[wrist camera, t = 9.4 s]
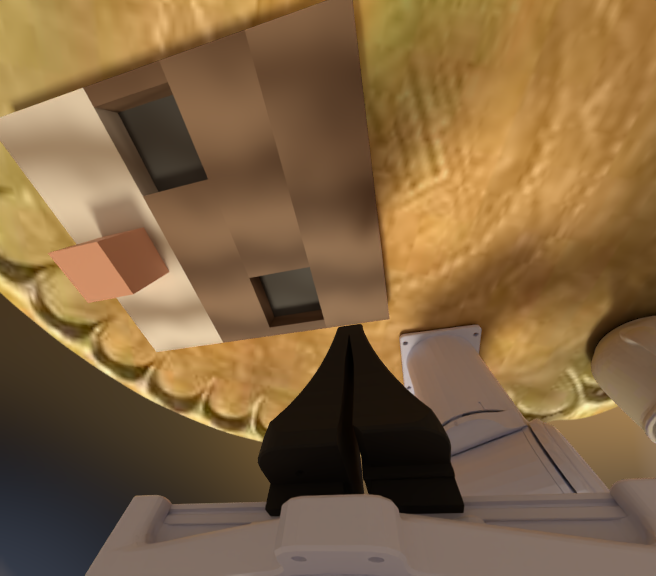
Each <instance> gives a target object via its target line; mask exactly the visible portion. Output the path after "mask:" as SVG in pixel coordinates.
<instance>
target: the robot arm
mask: <svg viewBox="0 0 656 576" xmlns="http://www.w3.org/2000/svg"><path fill="white" fill-rule="evenodd" d="M481 330H482V329H481V327H480V326H479V325H469V326H461V327H454V328H446V329H438V330H431V331H423V332H415V333H408V334H402V335H401V336H400V349H401V359H402V369H403V380H404V386H403V385H402V384H401V383H400V382H399V381H398V380H397V379H396V378H395V377H394V375H393V374H392V373H391V372H390V371H389V370H388V369H387V367H386V366H385V365H384V364H383V363H382V361H381V360H380V359H379V357H378V356H377V354H376V353H375V351H374V350H373V348H372V346H371V345H370V343H369V341H368V339H367V337H366V335H365V333H364V330H363V326H362V325H361V324H357V325H350V326H343V327H339V328H338V329H337V332H336V335H335V337H334V340H333V342H332V344H331V346H330V349H329V351H328V353H327V355H326V357H325V358H324V360H323V362H322V364H321V365H320V367H319V369H318V370H317V372H316V373H315V375H314V376H313V378H312V379H311V380H310V382H309V383H308V384H307V385H306V387H305V388H304V389H303V390H302V392H301V393H300V394H299V395H298V396H297V397H296V398H295V399H294V400H293V402H292V403H291V404H290V405H289V406H288V407H287V408H286V409H285V410H283V411H282V412H281V413H280V414H279V415H278V416H277V417H276V418H275V419H273V420H272V421H271V422H270V424H269V426H268V429H267V431H266V434H265V436H264V439H263V443H262V446H261V450H260V453H259V457H258V464H259V466H260V468H261V470H262V471H263V473H264V474H265V476H266V477H267V479H268V480H269V482H270V483H271V484H270V489H269V493H268V498H267V502H244V503H243V502H241V503H207V504H205V503H204V504H171V502H170V501H169V500H168V499H167V498H165V497H163V496H160V495H145V496H136V497H134V498H133V500H132V501H131V503H130V504H129V506H128V508H127V509H126V511H125V512H124V514H123V515H122V517H121V519H120V520H119V522H118V523H117V525H116V527H115V528H114V530H113V531H112V533H111V535H110V536H109V538H108V539H107V541H106V543H105V544H104V546H103V547H102V549H101V551H100V552H99V554H98V556H97V557H96V558H95V560H94V562H93V564H92V565H91V566H90V568H89V570H88V571H87V573H86V574H85V576H656V478H635V479H623V480H620V481H617V482H615V483H614V484H613V485H612V486H611V488H610V490H608V488H607V487H606V485H605V484H604V483H603V482H602V481H601V480H600V478H599V477H598V476H597V475H596V473H595V472H594V471H593V470H592V469H591V468H590V466H589V465H588V464H587V463H586V462H585V460H584V459H583V458H582V457H581V456H580V455H579V453H578V452H577V451H576V450H575V449H574V448H573V446H572V445H571V444H570V443H569V442H568V441H567V440H566V439H565V437H564V436H563V435H562V434H561V433H560V432H559V431H558V430H557V429H556V428H555V427H554V426H553V425H550V424H548V423H545V422H542V421H541V420H539V419H534V420H532V421H530V422H528V421H527V420H526V419H525V418H524V417H523V415H522V414H521V412H520V411H519V410H518V408H517V407H516V405H515V404H514V403H513V401H512V400H511V399H510V397H509V396H508V394H507V393H506V392H505V390H504V389H503V387H502V386H501V385H500V383H499V382H498V381H497V379H496V378H495V376H494V375H493V374H492V372H491V371H490V369H489V368H488V367H487V365H486V364H485V363H484V361H483V360H482V358H481V357H480V356H479V348H480V339H481ZM474 333H476V334H474ZM403 342H406V343H403ZM414 395H415V396H414ZM360 454H361V457H362V468H361V458H360ZM362 471H363V479H362ZM363 480H364V481H365V483H366V487H367V490H368V493H369V494H364V488H363Z"/></svg>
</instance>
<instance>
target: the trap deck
mask: <svg viewBox="0 0 656 576" xmlns="http://www.w3.org/2000/svg"><path fill="white" fill-rule="evenodd" d="M0 141H1V142H2V144H3V145H4V146H5V148H6V149H7V151H8V152H9V153H10V155H11V156H12V157H13V159H14V160H15V161H16V163H17V164H18V165H19V167H20V168H21V169H22V171H23V172H24V174H25V175H26V176H27V178H28V179H29V180H30V182H31V183H32V184H33V186H34V187H35V188H36V190H37V191H38V192H39V194H40V195H41V197H42V198H43V199H44V201H45V202H46V203H47V205H48V206H49V207H50V209H51V210H52V211H53V213H54V214H55V215H56V217H57V218H58V219H59V221H60V222H61V224H62V225H63V226H64V228H65V229H66V230H67V232H68V233H69V234H70V236H71V237H72V238H73V240H74V241H75V242H76V244H80V243H84V242H87V241H90V240H94V239H97V238H100V237H104V236H108V235H113V234H117V233H121V232H125V231H130V230H134V229H138V228H142V227H144V229H145V230H146V232H147V234H148V236H149V237H150V239H151V241H152V242H153V244H154V246H155V248H156V249H157V251H158V253H159V255H160V256H161V258H162V260H163V261H164V263H165V265H166V267H167V268H168V270H169V273H167V274H166V275H164V276H162V277H161V278H159V279H157V280H156V281H154V282H153V283H151V284H149V285H148V286H146V287H144V288H143V289H141V290H140V291H138V292H136V293H135V294H133V295H127V296H122V297H117V299H118V301H119V302H120V303H121V305H122V306H123V307H124V309H125V310H126V311H127V313H128V314H129V315H130V317H131V318H132V320H133V321H134V322H135V324H136V325H137V326H138V328H139V329H140V330H141V332H142V333H143V334H144V336H145V337H146V338H147V340H148V341H149V343H150V344H151V345H152V347H153V348H154V349H155V351H156V352H160V351H167V350H174V349H181V348H188V347H195V346H202V345H209V344H216V343H223V342H231V341H238V340H245V339H252V338H259V337H266V336H273V335H280V334H287V333H294V332H301V331H308V330H315V329H322V328H329V327H337V326H344V325H351V324H358V323H365V322H372V321H379V320H386V319H389V311H388V302H387V294H386V285H385V276H384V268H383V259H382V250H381V242H380V233H379V224H378V216H377V207H376V199H375V190H374V181H373V173H372V164H371V155H370V147H369V138H368V130H367V121H366V112H365V104H364V95H363V86H362V78H361V69H360V61H359V52H358V43H357V35H356V26H355V17H354V9H353V0H327V1H324V2H321V3H318V4H315V5H313V6H310V7H307V8H304V9H301V10H299V11H296V12H293V13H290V14H288V15H285V16H282V17H279V18H276V19H274V20H271V21H268V22H265V23H262V24H260V25H257V26H254V27H251V28H248V29H246V30H243V31H240V32H237V33H234V34H232V35H229V36H226V37H223V38H220V39H218V40H215V41H212V42H209V43H207V44H204V45H201V46H198V47H195V48H193V49H190V50H187V51H184V52H181V53H179V54H176V55H173V56H170V57H167V58H165V59H162V60H159V61H156V62H153V63H151V64H148V65H145V66H142V67H139V68H137V69H134V70H131V71H128V72H126V73H123V74H120V75H117V76H114V77H112V78H109V79H106V80H103V81H100V82H98V83H95V84H92V85H89V86H86V87H84V88H81V89H78V90H75V91H72V92H70V93H67V94H64V95H61V96H58V97H56V98H53V99H50V100H47V101H44V102H42V103H39V104H36V105H33V106H31V107H28V108H25V109H22V110H19V111H17V112H14V113H11V114H8V115H5V116H3V117H0Z"/></svg>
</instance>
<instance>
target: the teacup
mask: <svg viewBox="0 0 656 576" xmlns="http://www.w3.org/2000/svg"><path fill="white" fill-rule="evenodd" d="M591 370H592V374H593V376H594V378H595V380H596V382H597V383H598V384H599V386H600V387H601V388H602V389H603V391H604V392H605V393H606V394H607V395H608V396H609V397H610V398H611V399H612V400H613V401H614V402H615V403H616V404H617V405H618V406H619V407H620V408H621V409H622V410H623V411H624V412H625V413H626V414H627V415H628V416H629V417H630V418H631V419H632V420H633V421H634V422H635V423H636V424H638V425H639V426H640V427H641V428H642V429H643V430H644V431H645V433H646V435H647V436H648V437H649V438H650V439H651V440H652V441H653V442H654V443H656V316H650V317H644V318H640V319H636V320H633V321H630V322H627V323H625V324H623V325H621V326H619V327H617V328H615V329H614V330H612V331H611V332H609V333H608V334H606V335H605V336H604V337H603V338H602V339H601V340H600V342H599V343H598V345H597V347H596V349H595V352H594V356H593V358H592V362H591Z"/></svg>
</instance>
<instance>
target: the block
mask: <svg viewBox="0 0 656 576" xmlns="http://www.w3.org/2000/svg"><path fill="white" fill-rule="evenodd" d="M48 254H49V255H50V256H51V258H52V259H53V260H54V261H55V263H56V264H57V265H58V266H59V268H60V269H61V270H62V271H63V272H64V274H65V275H66V276H67V277H68V279H69V280H70V281H71V282H72V284H73V285H74V286H75V287H76V288H77V290H78V291H79V292H80V293H81V295H82V296H83V297H84V298H85V299H86V301H87V302H88V303H90V302H95V301H101V300H106V299H111V298H117V297H122V296H127V295H133V294H135V293H136V292H138V291H140V290H141V289H143V288H144V287H146V286H148V285H149V284H151V283H153V282H154V281H156V280H157V279H159V278H161V277H162V276H164V275H166V274H167V273H169V270H168V268H167V267H166V265H165V263H164V261H163V260H162V258H161V256H160V255H159V253H158V251H157V249H156V248H155V246H154V244H153V242H152V241H151V239H150V237H149V236H148V234H147V232H146V230H145V229H144V227H142V228H138V229H134V230H130V231H125V232H121V233H117V234H113V235H108V236H104V237H100V238H97V239H94V240H90V241H87V242H84V243H80V244H77V245H74V246H70V247H67V248H64V249H60V250H57V251H53V252H50V253H48Z"/></svg>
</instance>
